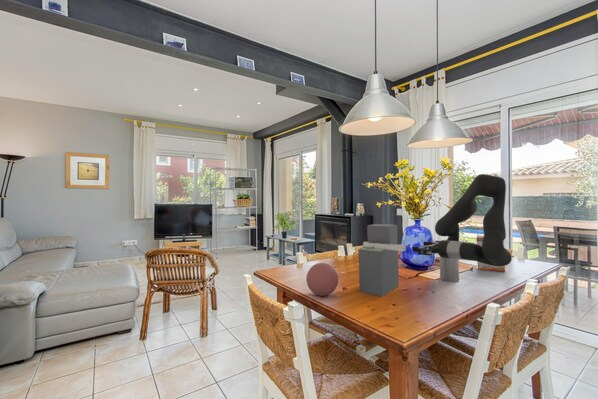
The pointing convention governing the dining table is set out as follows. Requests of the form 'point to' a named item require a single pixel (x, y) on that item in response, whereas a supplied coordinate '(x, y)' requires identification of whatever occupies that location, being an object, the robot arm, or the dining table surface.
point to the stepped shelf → (379, 262)
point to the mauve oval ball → (322, 279)
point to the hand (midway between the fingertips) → (418, 246)
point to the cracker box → (485, 266)
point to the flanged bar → (384, 246)
